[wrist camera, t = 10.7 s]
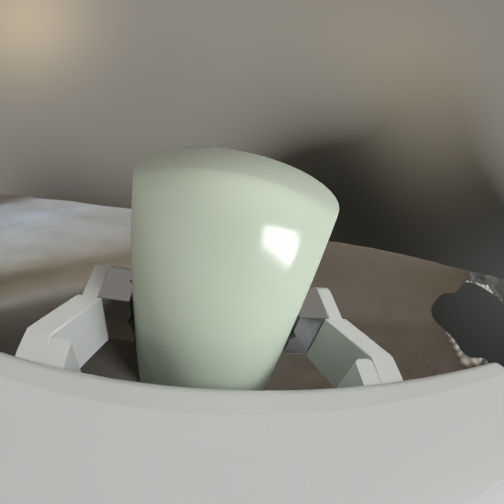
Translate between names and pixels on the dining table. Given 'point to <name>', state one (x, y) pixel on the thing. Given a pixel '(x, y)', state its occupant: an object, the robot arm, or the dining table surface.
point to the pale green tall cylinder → (221, 263)
